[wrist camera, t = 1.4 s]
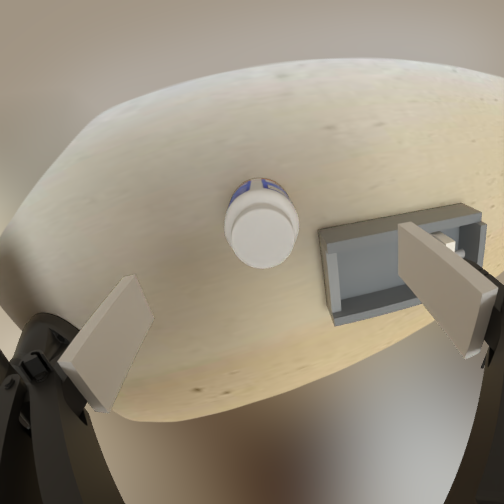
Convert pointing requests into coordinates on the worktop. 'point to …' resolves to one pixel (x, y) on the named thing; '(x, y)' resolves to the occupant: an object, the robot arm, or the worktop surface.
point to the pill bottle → (261, 223)
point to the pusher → (448, 242)
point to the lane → (386, 259)
